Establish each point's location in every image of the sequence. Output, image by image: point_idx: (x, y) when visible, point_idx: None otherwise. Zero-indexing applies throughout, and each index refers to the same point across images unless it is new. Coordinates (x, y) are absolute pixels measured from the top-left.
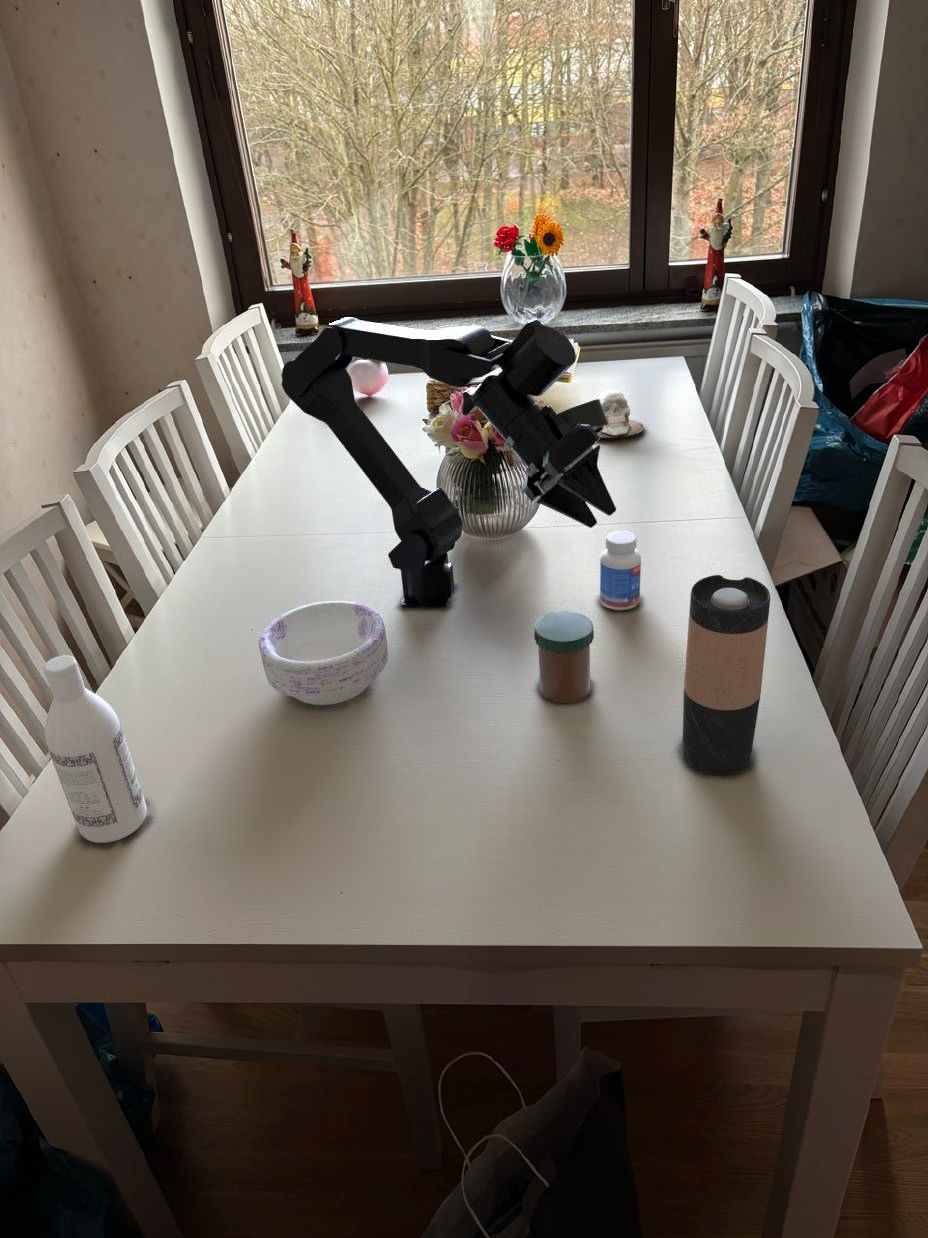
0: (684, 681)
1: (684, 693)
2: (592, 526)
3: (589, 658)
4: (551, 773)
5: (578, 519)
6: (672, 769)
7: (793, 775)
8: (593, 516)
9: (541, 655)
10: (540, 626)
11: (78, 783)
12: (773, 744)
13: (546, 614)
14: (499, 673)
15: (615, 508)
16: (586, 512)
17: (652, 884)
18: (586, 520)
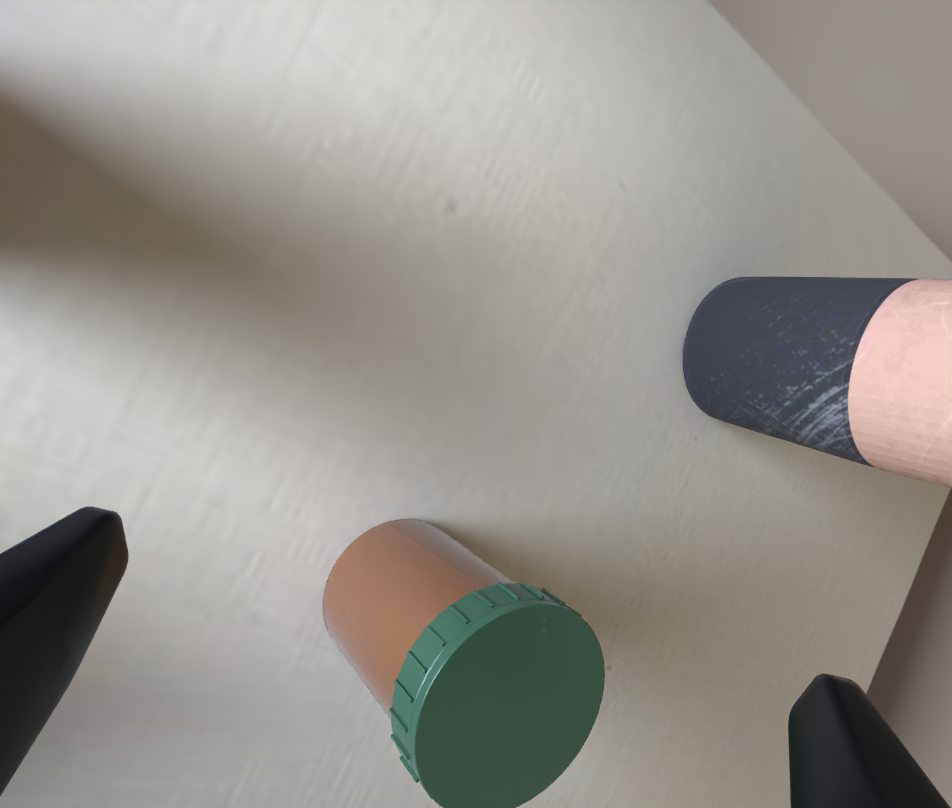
0: (890, 469)
1: (865, 464)
2: (125, 553)
3: (502, 574)
4: (631, 687)
5: (52, 709)
6: (723, 454)
7: (825, 247)
8: (73, 556)
9: None
10: (480, 795)
11: None
12: (764, 217)
13: (416, 765)
14: (230, 769)
15: (858, 692)
16: (31, 646)
17: (851, 589)
18: (86, 626)
